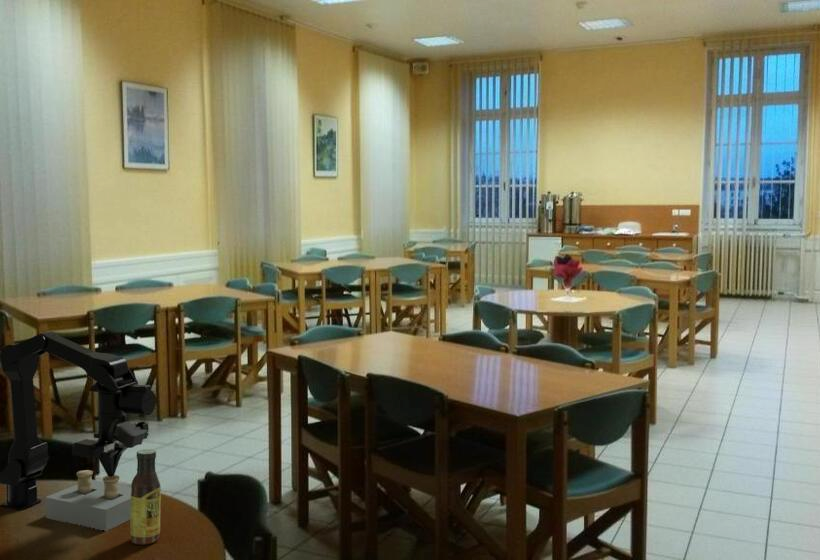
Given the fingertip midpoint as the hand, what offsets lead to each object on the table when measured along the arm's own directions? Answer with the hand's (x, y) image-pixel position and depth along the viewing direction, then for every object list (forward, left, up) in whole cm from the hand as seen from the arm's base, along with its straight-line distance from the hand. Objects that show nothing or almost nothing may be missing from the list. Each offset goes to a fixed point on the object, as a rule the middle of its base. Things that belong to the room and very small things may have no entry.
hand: (110, 476), depth 184 cm
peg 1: (-8, 0, -6) cm, 10 cm away
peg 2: (0, 0, -6) cm, 6 cm away
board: (-4, 0, -10) cm, 11 cm away
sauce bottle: (+16, -7, -10) cm, 20 cm away
